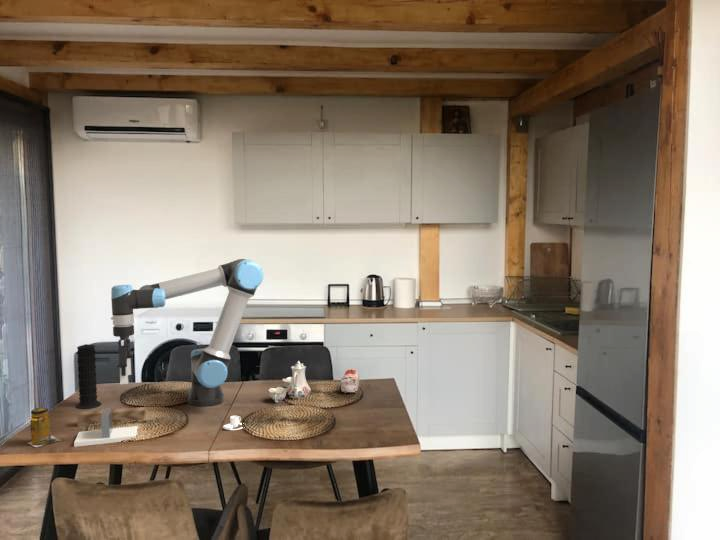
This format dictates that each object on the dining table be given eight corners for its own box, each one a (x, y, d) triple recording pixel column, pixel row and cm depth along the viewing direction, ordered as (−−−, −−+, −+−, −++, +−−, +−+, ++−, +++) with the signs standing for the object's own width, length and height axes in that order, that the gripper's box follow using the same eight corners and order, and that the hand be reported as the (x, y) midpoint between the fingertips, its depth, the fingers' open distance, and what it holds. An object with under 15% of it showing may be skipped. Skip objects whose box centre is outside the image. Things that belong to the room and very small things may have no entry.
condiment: (27, 443, 205) (25, 409, 204) (52, 436, 211) (50, 404, 210) (35, 448, 200) (33, 413, 199) (60, 441, 206) (59, 407, 206)
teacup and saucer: (224, 432, 215) (224, 422, 214) (219, 426, 222) (219, 415, 221) (248, 429, 219) (247, 418, 218) (242, 422, 226) (241, 412, 225)
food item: (358, 395, 260) (357, 373, 260) (340, 394, 261) (340, 373, 260) (360, 386, 274) (359, 366, 273) (343, 386, 275) (342, 366, 274)
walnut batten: (145, 419, 230) (145, 407, 229) (144, 422, 226) (143, 410, 225) (80, 424, 225) (79, 411, 224) (77, 427, 221) (77, 415, 220)
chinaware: (284, 390, 274) (280, 355, 273) (318, 388, 272) (314, 353, 271) (266, 409, 247) (261, 370, 245) (304, 406, 244) (300, 367, 243)
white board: (138, 429, 217) (137, 425, 217) (136, 440, 207) (136, 435, 207) (79, 435, 211) (79, 431, 211) (74, 446, 201) (74, 442, 201)
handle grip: (70, 408, 243) (91, 409, 241) (67, 346, 241) (88, 347, 239) (85, 401, 253) (106, 402, 251) (83, 341, 251) (104, 342, 249)
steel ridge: (112, 429, 214) (111, 408, 213) (109, 437, 205) (108, 415, 204) (104, 430, 213) (104, 408, 212) (101, 438, 204) (101, 416, 204)
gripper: (116, 320, 235) (118, 372, 237) (109, 331, 211) (111, 388, 213) (136, 319, 237) (138, 370, 239) (131, 329, 213) (133, 386, 215)
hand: (125, 379), depth 226 cm, fingers open, 13 cm apart
